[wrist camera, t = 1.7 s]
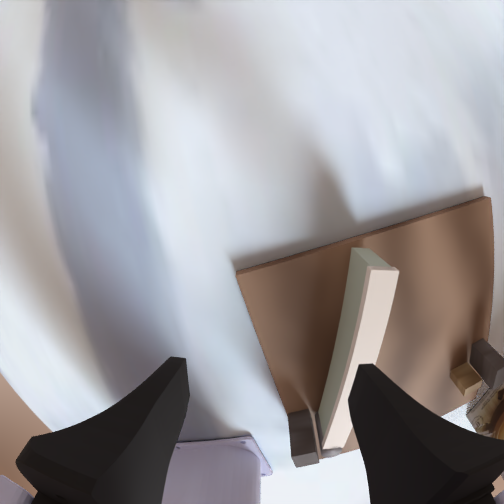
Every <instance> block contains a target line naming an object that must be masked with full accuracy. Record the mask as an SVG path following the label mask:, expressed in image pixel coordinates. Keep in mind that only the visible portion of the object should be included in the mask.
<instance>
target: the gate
mask: <svg viewBox="0 0 504 504" xmlns="http://www.w3.org/2000/svg"><path fill="white" fill-rule="evenodd" d="M398 275H399V270H398V269H397V268H395V267H391V266H390V265H389V264H387V263H386V262H385V261H384V260H383V259H382V258H380V257H379V256H378V255H377V254H376V253H374V252H373V251H372V250H371V249H369V248H353V247H352V248H351V255H350V263H349V269H348V276H347V282H346V288H345V294H344V300H343V306H342V311H341V317H340V322H339V327H338V332H337V337H336V341H335V346H334V351H333V355H332V360H331V364H330V368H329V372H328V377H327V381H326V385H325V389H324V392H323V396H322V400H321V404H320V407H319V411H317V412H316V413H315V422H316V427H317V433H318V439H319V445H320V451H321V455H322V456H323V457H326V458H329V457H334V456H337V455H339V454H340V453H341V452H342V448H343V447H344V445H345V443H346V441H347V438H348V436H349V434H350V432H351V429H352V427H353V425H352V422H351V418H350V412H349V406H348V397H349V394H350V391H351V388H352V385H353V382H354V378H355V375H356V372H357V368H358V365H359V364H369V363H373V364H374V365H375V364H376V361H377V358H378V354H379V351H380V348H381V344H382V341H383V337H384V334H385V330H386V327H387V323H388V319H389V315H390V311H391V307H392V303H393V298H394V294H395V289H396V285H397V280H398Z"/></svg>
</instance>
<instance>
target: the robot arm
mask: <svg viewBox="0 0 504 504" xmlns="http://www.w3.org/2000/svg"><path fill="white" fill-rule="evenodd" d="M189 396H190V393H189V384H188V375H187V365H186V358H179V357H170V358H168V359H167V360H166V361H165V362H164V363H163V364H162V365H161V366H160V367H159V368H158V369H157V370H156V371H155V372H154V373H153V374H152V375H151V376H150V377H149V378H147V379H146V380H145V381H144V382H143V383H142V384H141V385H139V386H138V387H137V388H136V389H135V390H133V391H132V392H131V393H130V394H128V395H127V396H126V397H124V398H123V399H122V400H120V401H119V402H117V403H116V404H114V405H113V406H111V407H110V408H108V409H107V410H105V411H103V412H101V413H99V414H97V415H95V416H93V417H91V418H89V419H87V420H85V421H83V422H81V423H78V424H76V425H73V426H71V427H68V428H65V429H62V430H59V431H55V432H52V433H47V434H43V435H39V436H34V437H32V438H31V439H30V440H29V441H28V443H27V444H26V446H25V447H24V449H23V450H22V452H21V453H20V455H19V456H18V458H17V459H16V465H17V467H18V469H19V471H20V472H21V473H22V474H23V476H24V477H25V478H26V479H27V480H28V481H29V482H30V483H31V484H32V485H33V487H34V488H35V489H36V490H37V491H38V492H37V494H36V496H35V498H34V497H33V496H32V495H31V494H30V493H29V492H27V491H26V490H25V489H23V488H22V487H20V486H19V485H17V484H15V483H14V482H12V481H11V480H10V479H8V478H6V477H5V476H4V475H0V504H260V494H261V477H263V476H270V475H272V470H271V468H270V466H269V465H268V463H267V461H266V460H265V458H264V456H263V454H262V453H261V451H260V449H259V448H258V446H257V444H256V442H255V441H254V439H253V438H252V437H250V436H246V437H238V438H231V439H222V440H212V441H200V442H185V443H176V442H177V440H178V437H179V434H180V431H181V428H182V425H183V422H184V419H185V416H186V412H187V407H188V402H189ZM348 406H349V412H350V418H351V422H352V425H353V429H354V432H355V435H356V438H357V441H358V444H359V447H360V451H361V454H362V457H363V460H364V464H365V468H366V473H367V479H368V486H369V494H370V503H371V504H504V490H503V491H502V492H501V493H499V494H498V495H497V496H496V497H494V498H493V496H492V494H491V492H492V491H494V486H493V484H492V483H493V482H494V481H495V480H496V479H497V478H498V477H499V476H500V474H501V473H502V472H503V471H504V440H501V439H496V438H492V437H488V436H484V435H481V434H478V433H475V432H472V431H469V430H466V429H464V428H462V427H459V426H457V425H455V424H453V423H451V422H449V421H447V420H445V419H443V418H442V417H440V416H438V415H437V414H435V413H433V412H432V411H430V410H429V409H427V408H426V407H424V406H423V405H421V404H420V403H419V402H417V401H416V400H415V399H413V398H412V397H411V396H410V395H408V394H407V393H406V392H405V391H404V390H402V389H401V388H400V387H399V386H398V385H397V384H396V383H394V382H393V381H392V380H391V379H390V378H389V377H388V376H387V375H385V374H384V373H383V372H382V371H381V370H380V369H379V368H378V367H376V366H375V365H374V364H373V363H369V364H359V365H358V368H357V372H356V375H355V378H354V382H353V385H352V388H351V391H350V394H349V397H348Z"/></svg>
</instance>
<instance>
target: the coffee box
mask: <svg viewBox="0 0 504 504" xmlns="http://www.w3.org/2000/svg"><path fill="white" fill-rule="evenodd" d="M466 417H467V418H468V420H469V421H470V423H471V424H472V426H473V428H474V429H475V431H476V432H477V433H478V434H481V435H484V436H488V437H492V438H496V439H501V440H504V382H503V384H501V385H500V386H498V387H497V388H495V389H494V390H492V389H491V388H489V390H488V391H487V392H486V393H485V395H484V396H483V397H482V398H481V399H480V401H479V402H478V403H477V404H476V405H475V406H474V408H473V409H472V410H471V411H470V412H469V413H468V414H467V416H466ZM501 476H502V478H503V479H504V471H503V472H502V473H501Z"/></svg>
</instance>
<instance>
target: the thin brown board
mask: <svg viewBox="0 0 504 504" xmlns="http://www.w3.org/2000/svg"><path fill="white" fill-rule="evenodd" d="M352 247H353V248H369V249H371V250H372V251H373V252H374V253H376V254H377V255H378V256H379V257H380V258H382V259H383V260H384V261H385V262H386V263H387V264H389V265H390V266H391V267H395V268H397V269H398V270H399V275H398V280H397V285H396V289H395V294H394V298H393V303H392V307H391V311H390V315H389V319H388V323H387V327H386V330H385V334H384V337H383V341H382V344H381V348H380V351H379V354H378V358H377V361H376V364H375V366H376V367H378V368H379V369H380V370H381V371H382V372H383V373H384V374H385V375H387V376H388V377H389V378H390V379H391V380H392V381H393V382H394V383H396V384H397V385H398V386H399V387H400V388H401V389H402V390H404V391H405V392H406V393H407V394H408V395H410V396H411V397H412V398H413V399H415V400H416V401H417V402H419V403H420V404H421V405H423V406H424V407H426V408H427V409H429V410H430V411H432V412H433V413H435V414H437V415H438V416H440V417H441V416H443V415H445V414H447V413H449V412H451V411H453V410H455V409H457V408H458V407H460V406H462V405H464V404H466V403H468V402H469V401H471V400H473V399H475V398H476V395H477V391H478V389H479V388H480V387H481V384H482V379H481V377H482V378H483V380H484V381H485V382H486V383H487V385H488V386H489V387H490V388H491V389H492V390H494V389H495V388H497V387H498V386H500V385H501V384H503V382H504V358H503V357H502V356H501V355H500V354H499V353H498V352H497V351H496V350H495V349H494V348H493V347H492V346H490V345H489V344H488V343H487V342H488V335H489V328H490V320H491V310H492V299H493V283H494V232H493V215H492V204H491V198H490V197H486V196H484V197H481V198H478V199H475V200H471V201H468V202H465V203H462V204H459V205H456V206H453V207H450V208H446V209H443V210H440V211H437V212H434V213H431V214H427V215H424V216H421V217H418V218H415V219H411V220H408V221H405V222H402V223H398V224H395V225H392V226H389V227H385V228H382V229H379V230H376V231H372V232H369V233H366V234H362V235H359V236H356V237H353V238H349V239H346V240H343V241H339V242H336V243H333V244H329V245H326V246H322V247H319V248H316V249H312V250H309V251H306V252H302V253H299V254H295V255H292V256H289V257H285V258H282V259H278V260H275V261H271V262H268V263H264V264H261V265H258V266H254V267H251V268H247V269H244V270H240V271H237V272H236V278H237V281H238V284H239V287H240V290H241V292H242V295H243V298H244V301H245V304H246V306H247V309H248V312H249V315H250V317H251V320H252V323H253V326H254V328H255V331H256V334H257V336H258V339H259V342H260V345H261V347H262V350H263V353H264V355H265V358H266V361H267V363H268V366H269V369H270V371H271V374H272V377H273V379H274V382H275V384H276V387H277V390H278V392H279V395H280V398H281V400H282V403H283V405H284V408H285V410H286V413H287V416H288V421H289V433H290V446H291V457H292V459H293V462H294V464H295V466H296V468H297V467H302V466H307V465H312V464H316V463H319V459H323V458H326V457H323V456H322V455H321V451H320V445H319V439H318V433H317V427H316V422H315V413H316V412H317V411H319V407H320V404H321V400H322V396H323V392H324V389H325V385H326V381H327V377H328V372H329V368H330V364H331V360H332V355H333V351H334V346H335V341H336V337H337V332H338V327H339V322H340V317H341V311H342V306H343V300H344V294H345V288H346V282H347V276H348V269H349V263H350V255H351V248H352ZM359 448H360V447H359V444H358V441H357V438H356V435H355V432H354V429H353V427H352V429H351V432H350V434H349V436H348V438H347V441H346V443H345V445H344V447H343V448H342V452H341V453H340V454H342V453H346V452H349V451H353V450H356V449H359Z"/></svg>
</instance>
